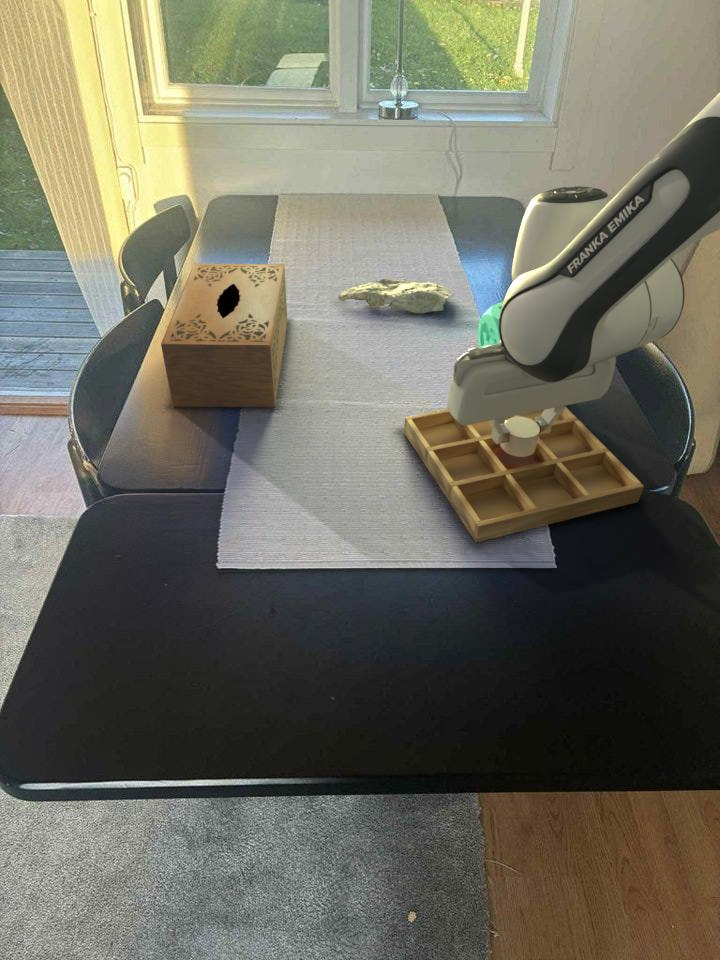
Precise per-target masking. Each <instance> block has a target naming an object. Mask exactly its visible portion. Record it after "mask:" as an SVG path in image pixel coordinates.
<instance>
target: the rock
mask: <svg viewBox="0 0 720 960" xmlns="http://www.w3.org/2000/svg"><path fill="white" fill-rule="evenodd" d="M449 296H452V292H451V291H450V290H449V289H447V288H446V287H445V286H442V285H441V284H436V283H432V282H412V281H407V280H404V279H403V280H402V279H399V280H398V279H392V278H383V279H380V280H376V281H370V282H368V283H363V284H360V285H356V286H353V287H351V288H348V289H345V290H344V291H342V292H341V293H339V295H338V301H339V302H344V301H347V300H354V301H365V302H366V303H367V304H368V306H369V308H373V307H375V308H378V307H384V305H388V308H390V309H393V310H394V309H401V310H405V311H408V312H411V313H413V314H416V313H417V314H425V313H426V314H427V313H431V312H439V311H444V304H446V301H447V299H448V298H449Z"/></svg>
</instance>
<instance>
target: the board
mask: <svg viewBox="0 0 720 960" xmlns="http://www.w3.org/2000/svg"><path fill="white" fill-rule="evenodd" d="M543 411H544V410H540V411H535V412H531V413H526V414H521V415H516V416H511V417H506V419H505V421H506V420H508V419H509V418H512V417H525V418H529V419H531V420H533V421H534V419H535V417H539V416H541V414H542V413H543ZM504 423H505V422H504ZM504 423H500V424H504ZM492 429H493V426H492V425H491V423H490V421H486V422H481V423H476V424H471V425H466V426H463V425H461V424H460V423H458V422H457V421H456V420H455V419H454V417H453V416H452V415H451V413H450V412H449V410H448V408H445V409H441V410H435V411H430V412H424V413H419V414H414V415H408V416H405V417H404V426H403V434H404V436H405V437H406V438H407V439H408V441H409V443H410V444H411V446H412V448H413V449H414V450H415V452H416V454H417V455H418V456H419V458H420V460H421V461H422V463H423V464H424V466H425V467H426V469H427V470H428V472H429V473H430V475H431V477H432V478H433V479H434V481H435V483H436V484H437V485H438V487H439V489H440V490H441V492H442V493H443V495H444V496H445V497H446V499H447V501H448V502H449V504H450V506H451V507H452V508H453V510H454V512H455V514H457V516H458V518H459V519H460V521H461V522H462V523H463V525H464V527H465V528H466V530H467V531H468V534H470V536H471V537H472V539H473V540H474V542H475V543H480V542H484V541H488V540H493V539H497V538H499V537H503V536H509V535H511V534H517V533H520V532H523V531H528V530H531V529H537V528H540V527H545V526H547V525H552V524H556V523H561V522H564V521H568V520H571V519H577V518H580V517H584V516H588V515H593V514H596V513H600V512H603V511H608V510H612V509H616V508H619V507H625V506H628V505H632V504H636V503H639V501H640V498H641V496H642V493H643V490H644V488H645V485H644V484H642V483H641V481H640V480H639V479H638V478H637V477H636V476H635V475H634V474H633V473H632V472H631V471H630V470H629V469H628V468H627V467H626V466H625V465H624V464H623V462H621V461H620V460H619V459H618V458H617V457H616V456H615V455H614V454H613V453H612V452H611V451H610V449H608V448H607V447H606V446H605V445H604V444H603V443H602V442H601V441H600V440H599V439H598V438H597V436H595V434H593V433H592V432H591V431H590V430H589V429H588V428H587V427H586V425H584V423H582V421H580V419H578V417H577V416H575V415H574V414H573V412H572V411H571V410H569V408H567V406H565V407H564V411H563V412H562V413H561V415H560V416H559V417H558V418H557V419H556V420H555V421H554V423H552V427H551V431H550V433H548V434H543V435H539V437H538V441H537V446H536V450H535V452H534V453H533V454H531V455H529V456H526V457H517V456H513V455H510V454H508V453H506V452H505V451H504V450H503V449H502V448H501V444H496V443H495V442H494V440H493V439H492Z"/></svg>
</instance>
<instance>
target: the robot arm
mask: <svg viewBox="0 0 720 960" xmlns="http://www.w3.org/2000/svg"><path fill="white" fill-rule="evenodd" d="M719 230H720V91H719V92H718V93H717V94H716V95H715V97H713V98H712V99H711V100H710V101H709V102H708V104H706V105H705V107H704V108H702V109H701V111H700V112H698V113H697V114H696V115H695V116H694V117H693V118H692V119H691V120H690V121H689V122H688V123H687V124H686V125H685V127H684V128H682V129H681V131H679V133H677V134H676V135H675V136H674V137H673V138H672V140H670V141H669V143H667V144H666V145H665V146H664V147H663V148H662V149H661V150H660V151H659V152H658V153H657V154H656V155H654V156H653V158H651V160H649V161H648V162H647V163H646V164H645V165H644V166H643V167H642V168H641V169H640V170H639V171H638V172H637V173H636V174H635V175H634V176H633V177H632V178H631V179H630V180H629V181H628V182H627V183H626V184H625V185H624V186H623V187H622V188H621V189H620V190H619V191H618V192H617V193H616V195H615V196H614V197H613V198H612V196H611V195H610V194H609V193H608V192H606V191H605V190H602V189H601V188H597V187H592V186H581V185H580V186H579V185H578V186H576V185H575V186H564V187H563V186H562V187H557V188H554V189H550V190H546V191H543V192H540V193H538V194H537V195H535V196H534V197H533V198H532V199H531V201H530V202H529V204H528V206H527V208H526V210H525V212H524V215H523V217H522V220H521V223H520V228H519V231H518V235H517V239H516V244H515V249H514V254H513V258H512V259H513V260H512V265H511V266H512V267H511V279H512V283H511V284H510V286H509V287H508V289H507V291H506V293H505V296H504V299H503V301H502V302H503V304H502V308H501V312H500V318H499V335H500V343H499V344H493V345H489V346H486V347H481V348H480V347H479V346H476V347H471V348H468V349H467V350H466V352H465V353H463V354H462V355H461V356H459V357H458V358H457V359H456V360H455V361H454V364H453V372H452V379H451V382H450V386H449V391H448V394H447V400H446V409H448V410H449V412H450V413H451V415H452V416H453V417H454V419H455V420H456V421H457V422H458V423H460V424H461V425H463V426H466V425H471V424H476V423H481V422H486V421H490V423H491V425H492V426H493V429H492V439H493V440H494V442H495V443H496V444H501V443H505V442H508V441H509V439H508V438H509V436H510V431H509V430H508V429H507V428H506V426H505V425H504V424H500V423H504V422H505V419H506V417H511V416H516V415H521V414H526V413H531V412H535V411H540V410H544V411H543V413H542V414H541V416H539V417H535V419H534V421H535V422H536V423H537V424H538V425H539V427H540V433H539V435H543V434H548V433H550V431H551V427H552V423H554V421H555V420H556V419H557V418H558V417H559V416H560V415H561V413H562V412H563V411H564V407H566V406H569V405H574V404H581V403H586V402H590V401H596V400H599V399H601V398H602V397H603V396H605V394H606V393H608V391H609V389H610V386H611V384H612V380H613V376H614V373H615V368H616V364H617V357H619V356H621V355H623V354H626V353H628V352H630V351H633V350H636V349H638V348H640V347H644V346H646V345H648V344H652V343H654V342H655V341H658V340H660V339H662V338H664V337H666V336H667V335H668V334H670V333H671V332H672V331H673V330H674V328H675V327H676V325H677V324H678V322H679V321H680V318H681V316H682V314H683V310H684V304H685V297H686V296H685V293H686V292H685V285H684V284H685V282H684V279H683V275H682V273H681V271H680V269H679V267H678V265H677V264H676V262H675V261H674V260H673V258H674V257H675V256H677V255H678V254H679V253H680V252H682V251H684V249H686V248H688V247H689V246H691V245H693V244H694V243H696V242H698V241H699V240H701V239H703V238H705V237H707V236H708V235H711V234H713V233H715V232H717V231H719Z"/></svg>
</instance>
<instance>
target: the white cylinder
mask: <svg viewBox="0 0 720 960" xmlns="http://www.w3.org/2000/svg"><path fill="white" fill-rule="evenodd" d="M504 425H505V426H506V428H507V429H508V430H509V431H510V436H509V438H508V439H509V441H508V442H505V443H501V448H502V449H503V450H504V451H505V452H506V453H508V454H510V455H513V456H517V457H526V456H529V455H531V454H533V453H534V452H535V450H536V446H537V441H538V437H539V433H540V427H539V425H538V424H537V423H536V422H535V421H533V420H531V419H529V418H525V417H512V418H509V419H508V420H506V421H505V423H504Z"/></svg>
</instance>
